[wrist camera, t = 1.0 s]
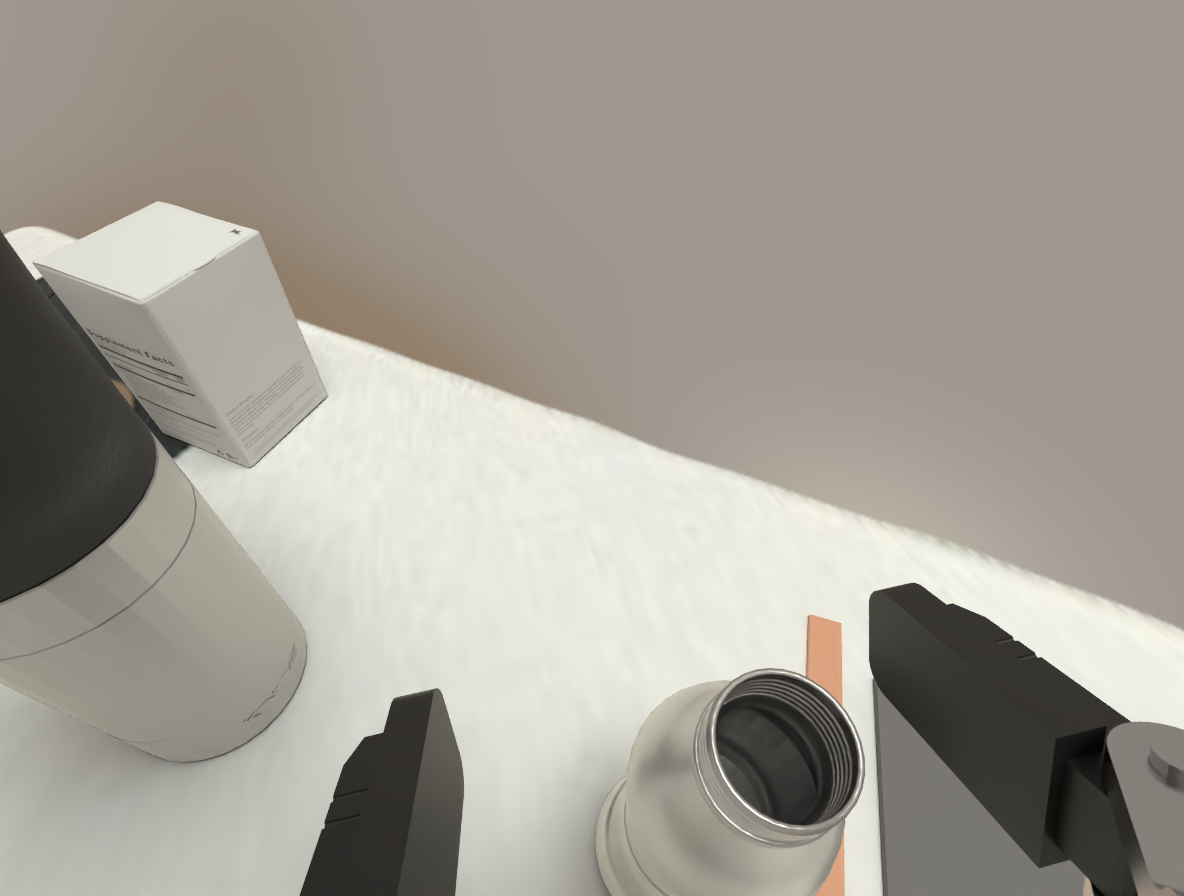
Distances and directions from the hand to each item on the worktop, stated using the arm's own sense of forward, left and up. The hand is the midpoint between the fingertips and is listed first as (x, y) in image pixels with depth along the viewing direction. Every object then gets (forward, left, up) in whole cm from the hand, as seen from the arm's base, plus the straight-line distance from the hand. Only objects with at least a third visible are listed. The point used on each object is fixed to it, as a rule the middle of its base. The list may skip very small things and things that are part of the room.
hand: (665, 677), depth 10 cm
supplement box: (-35, +20, -24) cm, 47 cm away
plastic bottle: (+3, +1, -24) cm, 24 cm away
